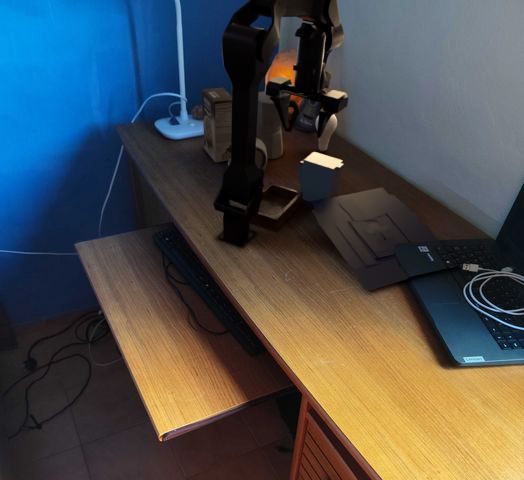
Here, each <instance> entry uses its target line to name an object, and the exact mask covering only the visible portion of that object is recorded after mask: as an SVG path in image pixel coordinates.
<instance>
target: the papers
mask: <svg viewBox="0 0 524 480" xmlns="http://www.w3.org/2000/svg"><path fill="white" fill-rule="evenodd" d="M309 203H310V204H311V205H312V207H313V208H314V209H312V210H311V212H312V213H313V215H314V216H315V218H316V222H317V223H318V224H319V226H320V227H321V229H322V230H323V231H324V233H325V235H327V237H328V238H329V239H330V241H331V242H332V244H333V246H335V248H336V249H337V250H338V252H339V254H341V256H342V257H343V259H344V260H345V261H346V263H347V264H348V266H349V267H350V270H351V271H352V272H353V273H354V275H355V276H356V277H357V279H358V280H359V281H360V282H361V283H362V285H363V286H364V288H366V290H367V291H368V292H370V291H374V290H376V289H379V288H383V287H386V286H389V285H392V284H395V283H400V282H402V281H405V280H408V277H407V275H406V274H405V272H404V271H403V269H402V267H399V265H398V262H397V260H396V258H395V254H394V251H393V250H394V247H395V245H396V244H398V243H408V242H410V243H411V242H425V241H440V240H439V238H438V237H437V236H436V235H435V234H434V233H433V232H432V230H431V229H430V228H428V226H427V225H426V224H425V223H424V222H423V221H422V220H421V219H420V217H418V216H417V214H416V213H415V212H414V211H413V210H412V209H410V208H409V207H408V206H407V204H406V203H405V202H403V201H401V200H400V199H399V198H398V197H397V196H396V195H395V194H394V193H393V194H389V193H388V192H387V190H386V189H385V188H384V187H377V188H373V189H372V188H371V189H368V190H362V191H358V192H353V193H348V194H342V195H337V196H336V197H330V198H325V199H319V200H313V201H310V202H309Z"/></svg>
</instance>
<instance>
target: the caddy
mask: <svg viewBox="0 0 524 480" xmlns="http://www.w3.org/2000/svg"><path fill="white" fill-rule="evenodd" d="M262 189H263V195H262V199H261V204H260V208H259V213H258V214H257V215H256V216H255V217H253V218H252V219H251V220H250V223H251V224H253V225H256V226H259V227H263V228H265V229H268V230H271V231H274V232H276V231H277V230H279V228H280V227H281V226H282V225H284V223H285V222H287V220H288V219H289V218H290V217H291V216H292V215H293V214H294V213H295V212H296V211H297V210H298V209H299V208H300V207H301V205H302V204H303V193H302V192H300V190H295V189H292V188H289V187H286V186H283V185H279V184H276V183H273V182H270V183H269V184H267V185H266V186H264V187H263V188H262Z"/></svg>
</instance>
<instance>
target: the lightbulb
mask: <svg viewBox="0 0 524 480" xmlns="http://www.w3.org/2000/svg"><path fill="white" fill-rule="evenodd" d="M318 120H319V115H318V116H317V117H316V118H315V122H314V123H315V130H317V129H318ZM337 127H338V119H337V117H336V115H335V114H334V115H332V116H331V117H330V119H329V121H328V123H327V125H326V127H325V129H324V131H323V133H322V135H321V137H320V138H318V151H320V152H326V151H327V150H328V146H329V143H330V140H331V137H332V135H333V134H334V132H335V131H336V129H337Z"/></svg>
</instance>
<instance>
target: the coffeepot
mask: <svg viewBox="0 0 524 480" xmlns="http://www.w3.org/2000/svg"><path fill="white" fill-rule="evenodd" d="M289 108H292V110H293V111H292V114H291V118H290V120H289V121H288V122H289V123H288V126H287V128H283V130H284V131H285V132H287V133H291V132H292V131H293V129H294V127H295V124H296V122H297V119H298V117H299V115H300V113H301V107H300V106H299V104H298V102H297V100H294V99H291V98H290V101H289ZM282 126H283V125H282V122H281V119H280V117H279V114H278V111H277V109H276V107H275V105H274V103H273V101H272V100H270V96H268V95H266V94H265V90H264V91H259V96H258V115H257V134H256V138H258V139H260V140H261V141H262V142H263V143H264V145H265V147H266V152H267V160H275V159H279V158H280V157H282V156H283V152H284V143H283V132H282Z"/></svg>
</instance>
